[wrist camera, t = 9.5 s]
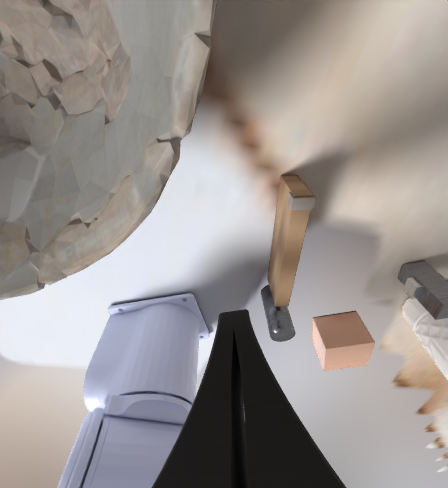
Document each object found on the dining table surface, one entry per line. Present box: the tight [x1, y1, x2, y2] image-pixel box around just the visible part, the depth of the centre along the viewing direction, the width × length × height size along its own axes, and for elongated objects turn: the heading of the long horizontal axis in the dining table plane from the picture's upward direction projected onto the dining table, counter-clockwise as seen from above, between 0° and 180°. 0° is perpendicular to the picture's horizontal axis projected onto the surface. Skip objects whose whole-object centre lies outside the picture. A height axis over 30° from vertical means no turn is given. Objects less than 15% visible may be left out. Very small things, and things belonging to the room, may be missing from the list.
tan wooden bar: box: [268, 175, 316, 307], centre depth 18 cm, size 10×1×4 cm, turn 1°
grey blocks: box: [261, 261, 448, 342], centre depth 21 cm, size 16×2×5 cm, turn 101°
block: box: [312, 311, 375, 371], centre depth 27 cm, size 5×5×4 cm
